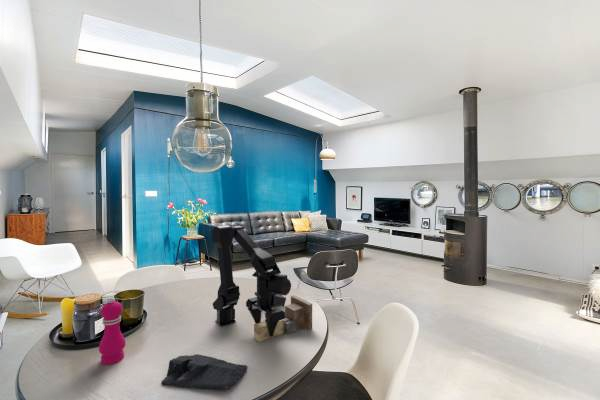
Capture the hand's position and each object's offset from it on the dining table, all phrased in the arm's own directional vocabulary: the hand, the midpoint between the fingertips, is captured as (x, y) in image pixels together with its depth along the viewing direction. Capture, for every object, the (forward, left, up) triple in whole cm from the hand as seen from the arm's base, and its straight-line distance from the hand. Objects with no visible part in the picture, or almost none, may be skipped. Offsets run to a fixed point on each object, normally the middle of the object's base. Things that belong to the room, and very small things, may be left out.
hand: (264, 331), depth 110 cm
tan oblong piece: (+4, 0, -2) cm, 4 cm away
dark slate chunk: (-25, -9, -3) cm, 27 cm away
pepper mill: (-46, +17, -2) cm, 49 cm away
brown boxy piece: (+14, 0, -2) cm, 14 cm away
